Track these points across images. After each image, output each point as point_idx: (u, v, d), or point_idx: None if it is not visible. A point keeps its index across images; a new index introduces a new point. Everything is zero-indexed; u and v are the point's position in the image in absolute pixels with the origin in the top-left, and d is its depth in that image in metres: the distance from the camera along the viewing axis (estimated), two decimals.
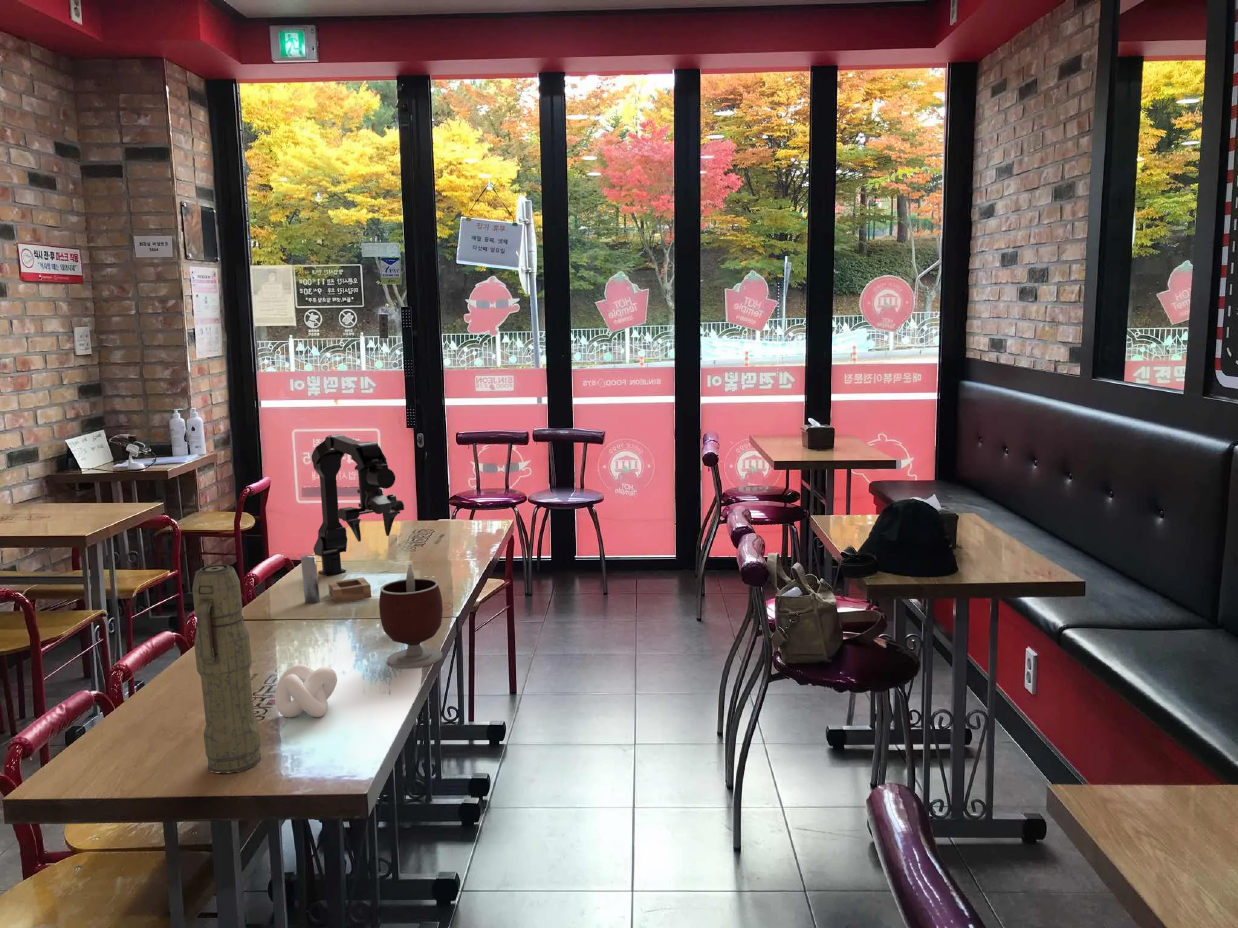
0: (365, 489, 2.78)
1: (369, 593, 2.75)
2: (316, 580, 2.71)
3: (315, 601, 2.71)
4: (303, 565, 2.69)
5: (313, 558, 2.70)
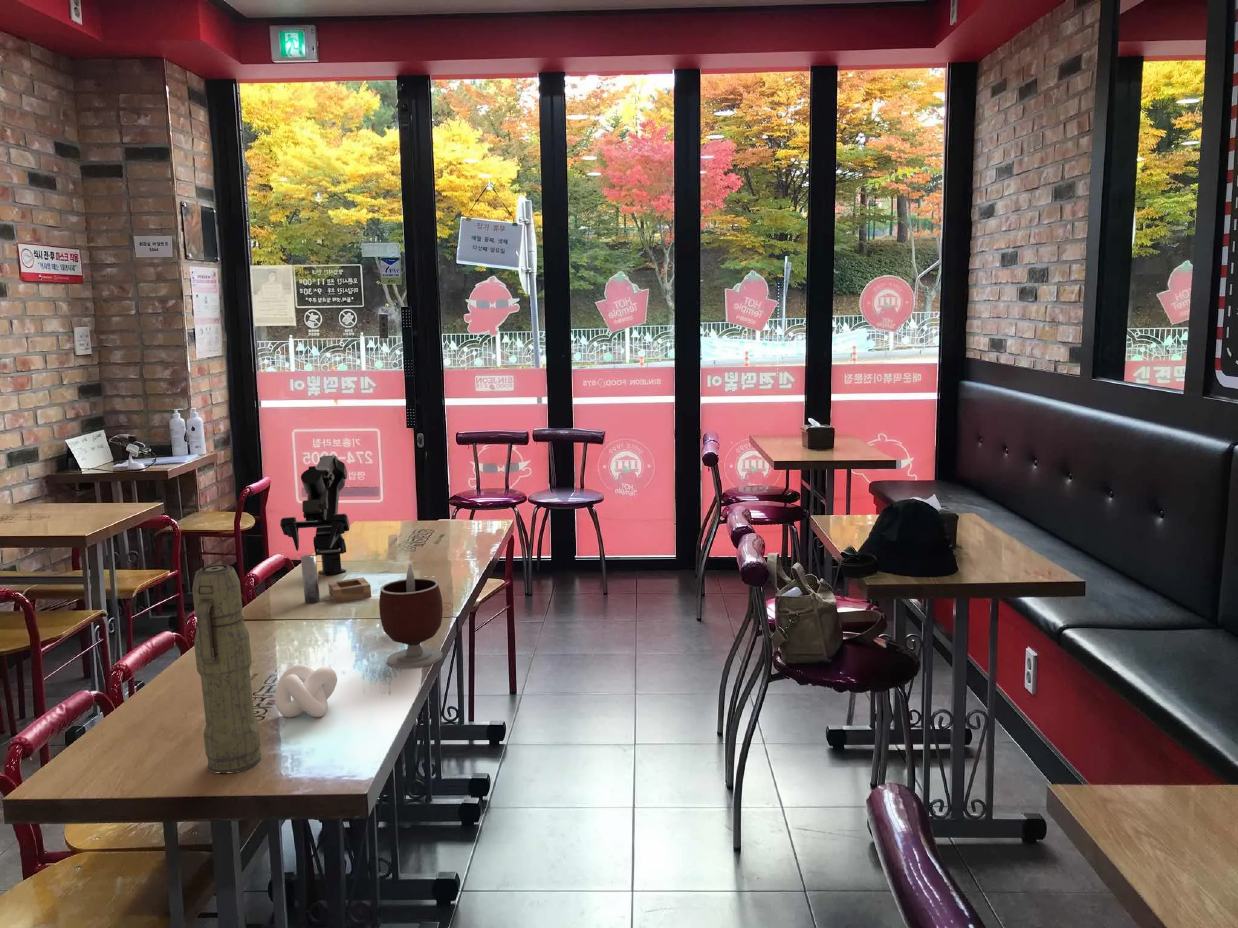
0: None
1: (369, 593, 2.75)
2: (316, 580, 2.71)
3: (315, 601, 2.71)
4: (303, 565, 2.69)
5: (313, 558, 2.70)
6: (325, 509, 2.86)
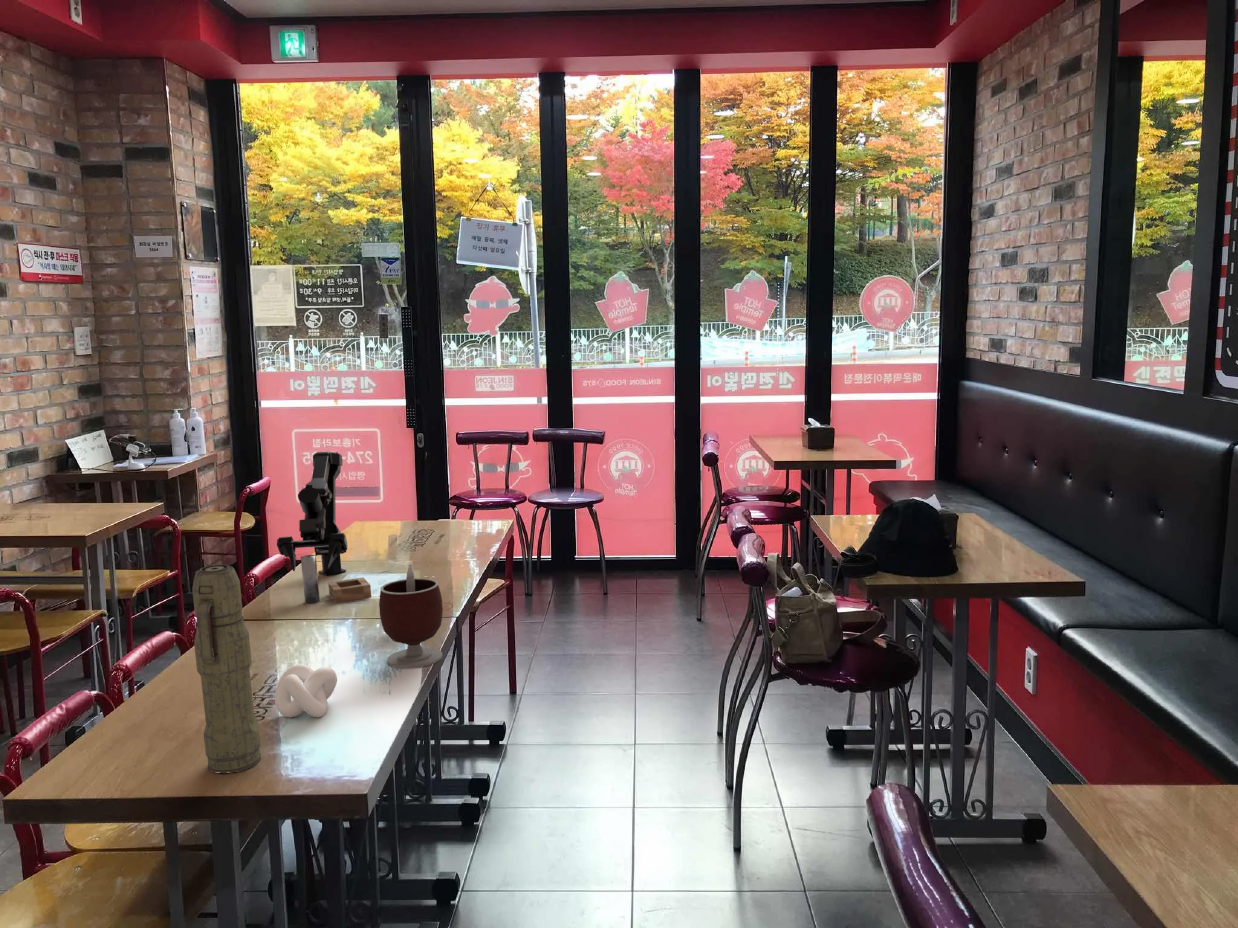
0: None
1: (369, 593, 2.75)
2: (316, 580, 2.71)
3: (315, 601, 2.71)
4: (303, 565, 2.69)
5: (313, 558, 2.70)
6: (323, 528, 2.80)
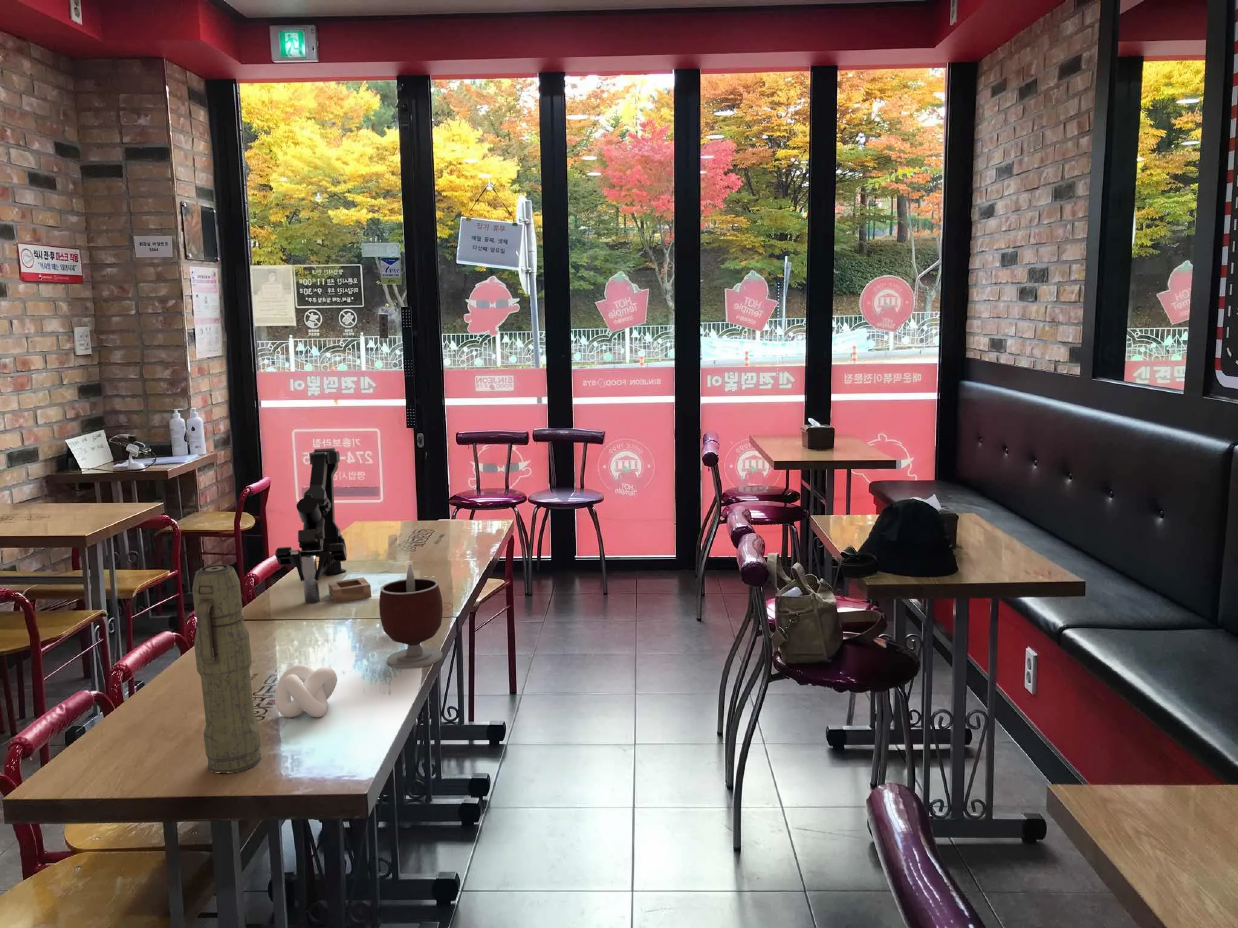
0: None
1: (369, 593, 2.75)
2: (316, 580, 2.71)
3: (315, 601, 2.71)
4: (303, 565, 2.69)
5: (313, 558, 2.70)
6: (321, 538, 2.78)
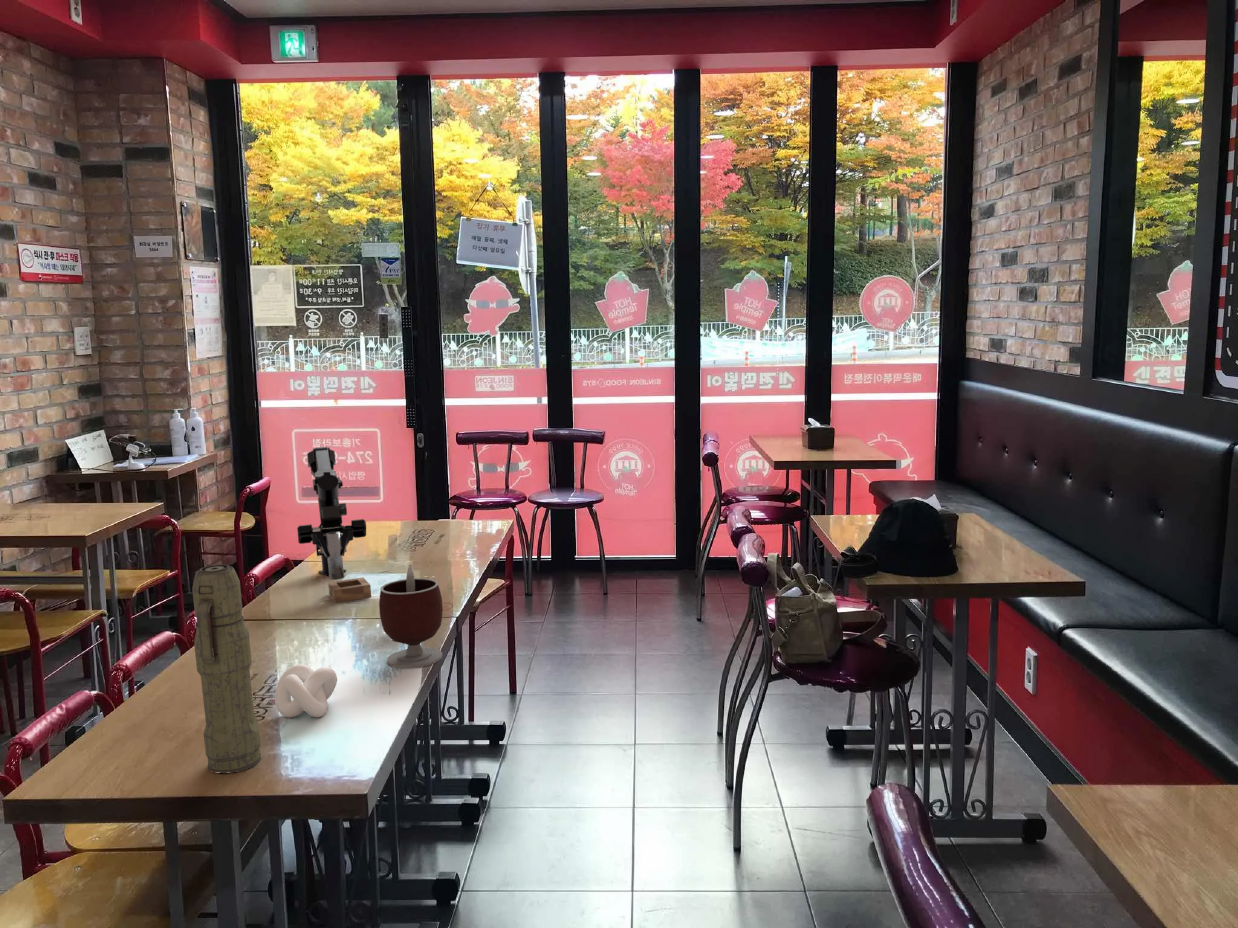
0: (321, 509, 2.79)
1: (369, 593, 2.75)
2: (341, 556, 2.74)
3: (341, 577, 2.74)
4: (329, 541, 2.71)
5: (339, 534, 2.72)
6: None
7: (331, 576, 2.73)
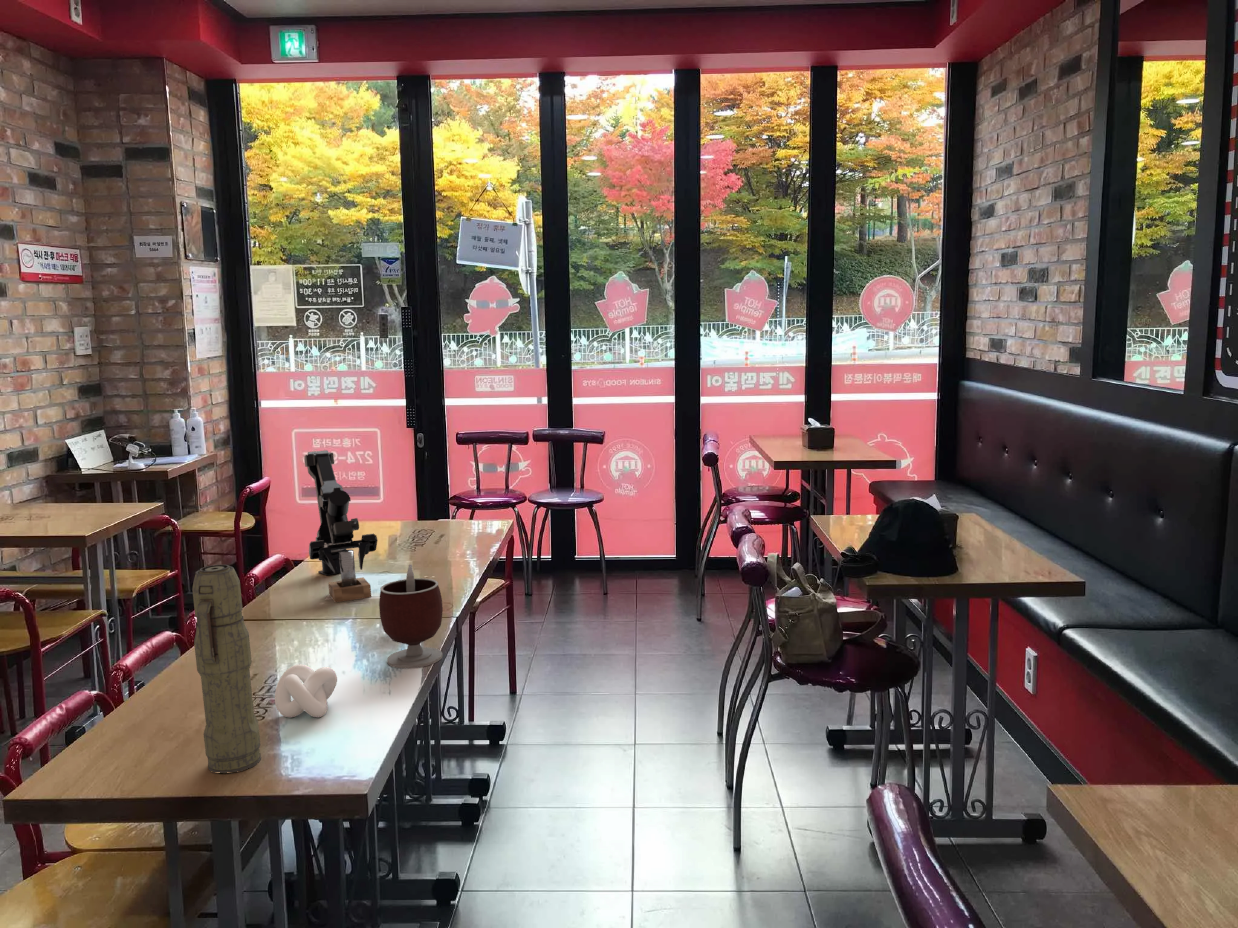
0: (331, 525, 2.81)
1: (369, 593, 2.75)
2: (355, 574, 2.76)
3: None
4: (343, 560, 2.74)
5: (352, 552, 2.75)
6: None
7: None
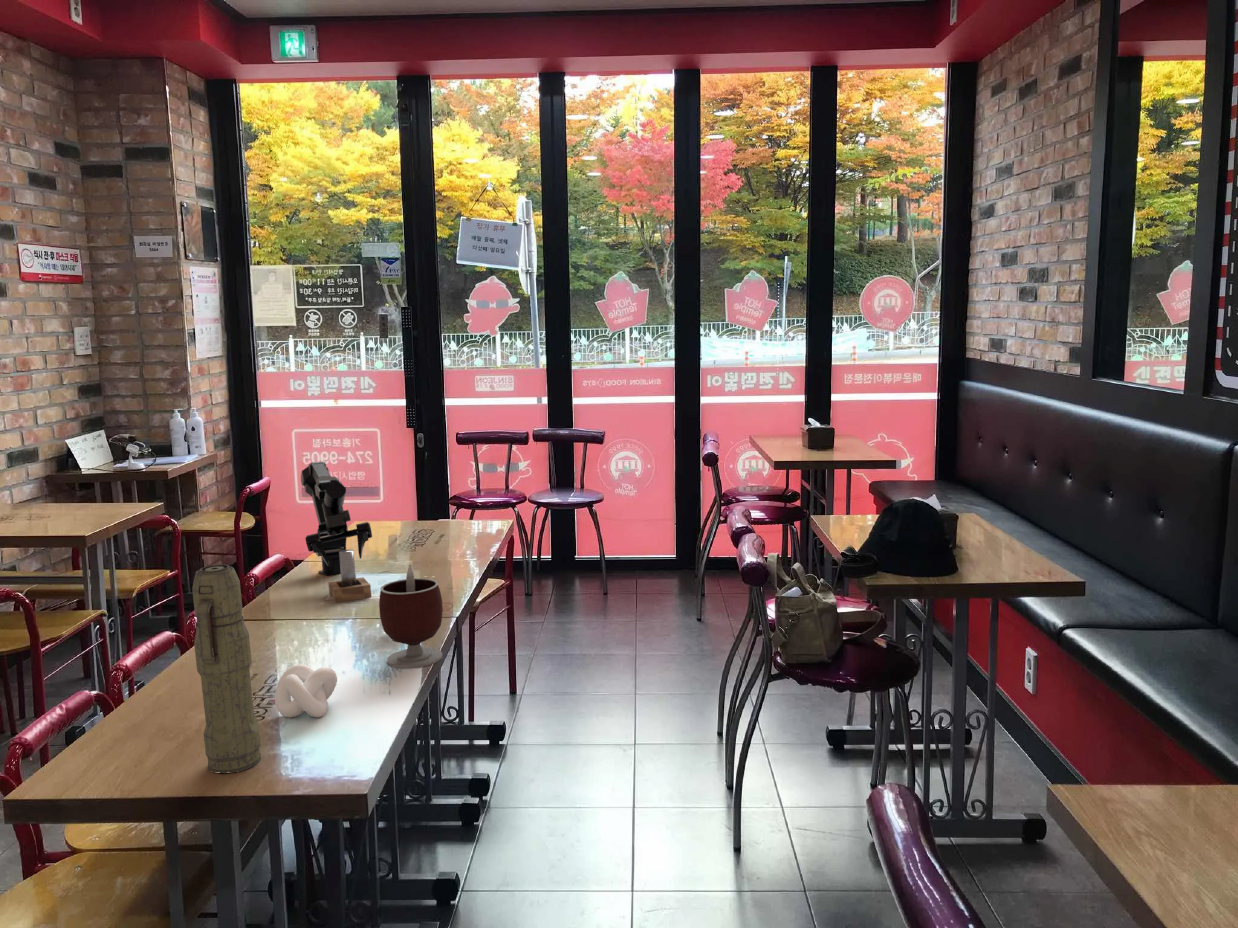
0: (326, 516, 2.89)
1: (369, 593, 2.75)
2: (355, 574, 2.76)
3: None
4: (343, 560, 2.74)
5: (352, 552, 2.75)
6: None
7: None
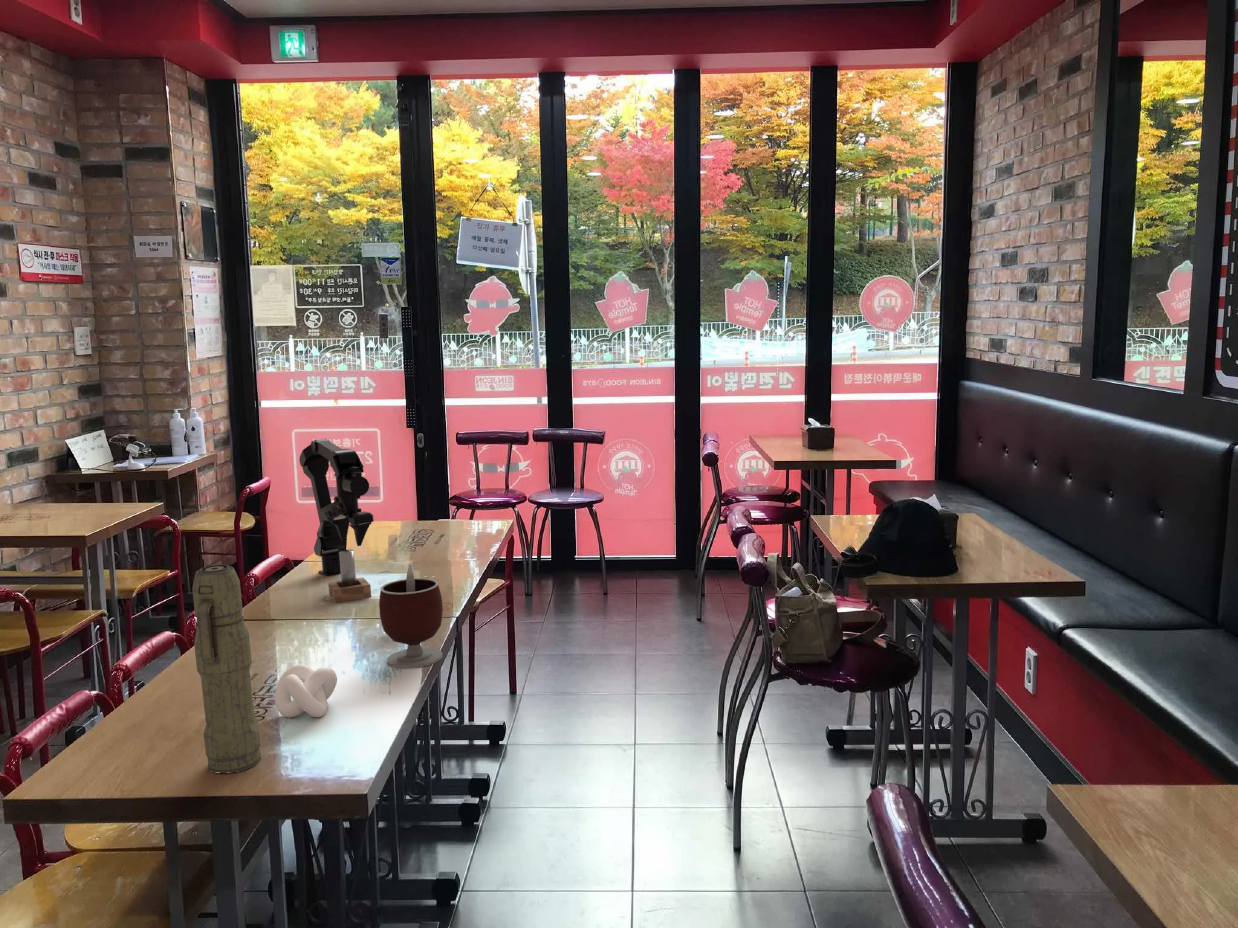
0: None
1: (369, 593, 2.75)
2: (355, 574, 2.76)
3: None
4: (343, 560, 2.74)
5: (352, 552, 2.75)
6: (350, 502, 2.85)
7: None
